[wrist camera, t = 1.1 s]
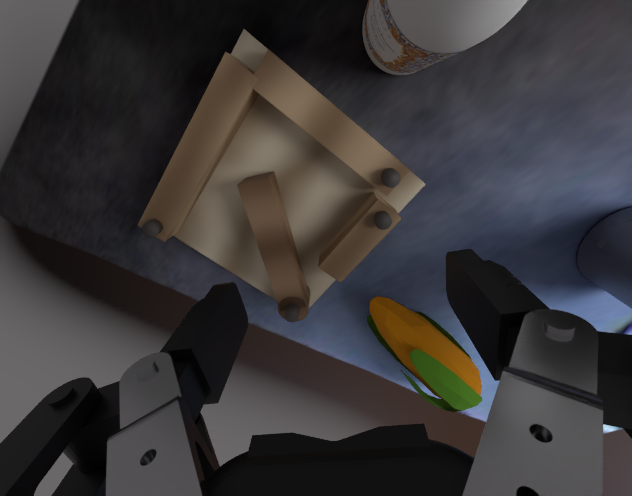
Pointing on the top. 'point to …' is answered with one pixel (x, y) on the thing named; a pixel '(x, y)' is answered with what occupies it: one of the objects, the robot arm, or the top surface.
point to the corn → (427, 354)
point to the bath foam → (429, 29)
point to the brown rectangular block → (276, 244)
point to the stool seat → (277, 174)
